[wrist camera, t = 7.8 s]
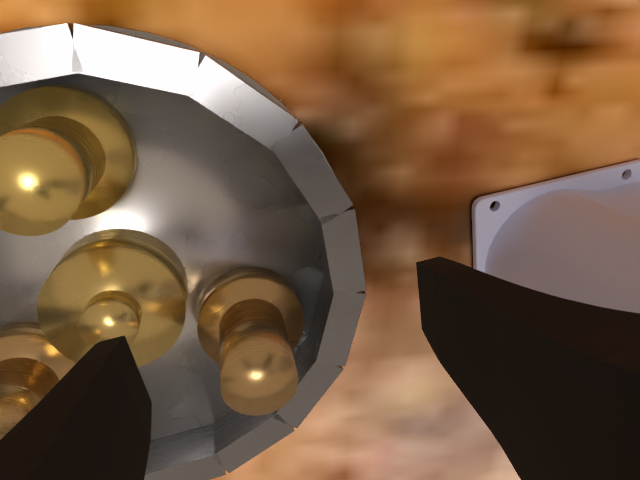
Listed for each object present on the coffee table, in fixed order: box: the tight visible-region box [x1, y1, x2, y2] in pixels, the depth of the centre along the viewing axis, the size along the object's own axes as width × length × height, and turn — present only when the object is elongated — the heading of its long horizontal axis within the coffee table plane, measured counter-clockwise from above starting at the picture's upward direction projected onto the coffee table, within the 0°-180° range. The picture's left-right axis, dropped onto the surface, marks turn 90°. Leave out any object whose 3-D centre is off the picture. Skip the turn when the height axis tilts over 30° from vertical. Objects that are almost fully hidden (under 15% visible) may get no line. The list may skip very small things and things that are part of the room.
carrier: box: [0, 23, 366, 480], centre depth 18 cm, size 20×20×6 cm
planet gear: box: [0, 84, 137, 236], centre depth 15 cm, size 5×5×5 cm
